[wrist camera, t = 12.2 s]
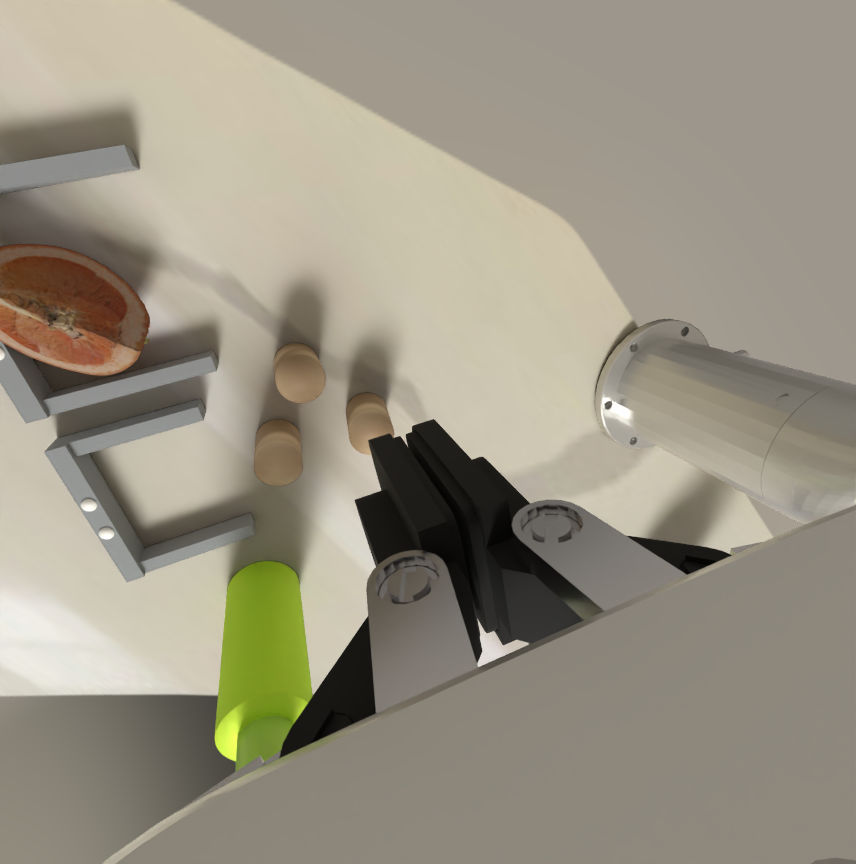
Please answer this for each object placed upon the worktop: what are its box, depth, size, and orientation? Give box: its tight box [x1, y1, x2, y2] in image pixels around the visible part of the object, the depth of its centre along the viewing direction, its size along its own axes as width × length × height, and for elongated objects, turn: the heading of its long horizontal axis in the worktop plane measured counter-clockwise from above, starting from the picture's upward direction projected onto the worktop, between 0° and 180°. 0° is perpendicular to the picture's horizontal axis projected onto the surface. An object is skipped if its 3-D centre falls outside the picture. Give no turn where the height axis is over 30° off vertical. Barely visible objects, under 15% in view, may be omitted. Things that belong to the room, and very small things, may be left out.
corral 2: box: [44, 399, 255, 582], centre depth 34 cm, size 9×11×2 cm
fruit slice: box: [0, 244, 150, 376], centre depth 27 cm, size 8×7×5 cm
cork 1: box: [274, 343, 326, 403], centre depth 33 cm, size 3×3×4 cm
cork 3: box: [346, 393, 394, 455], centre depth 36 cm, size 3×3×4 cm
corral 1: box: [0, 145, 218, 423], centre depth 28 cm, size 11×13×2 cm
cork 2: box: [254, 420, 303, 486], centre depth 34 cm, size 3×3×4 cm
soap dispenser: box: [215, 561, 313, 771], centre depth 32 cm, size 6×7×20 cm
